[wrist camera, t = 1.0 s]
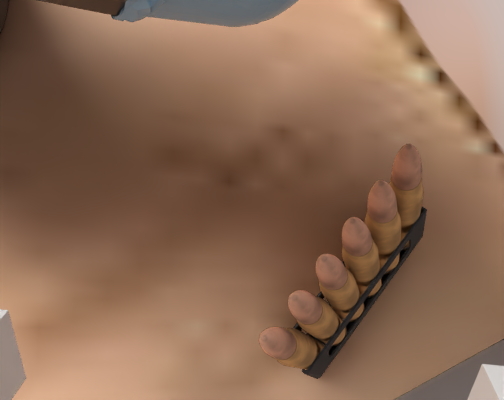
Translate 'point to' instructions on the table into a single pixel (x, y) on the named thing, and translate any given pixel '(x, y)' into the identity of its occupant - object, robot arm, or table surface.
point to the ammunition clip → (354, 271)
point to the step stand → (457, 377)
